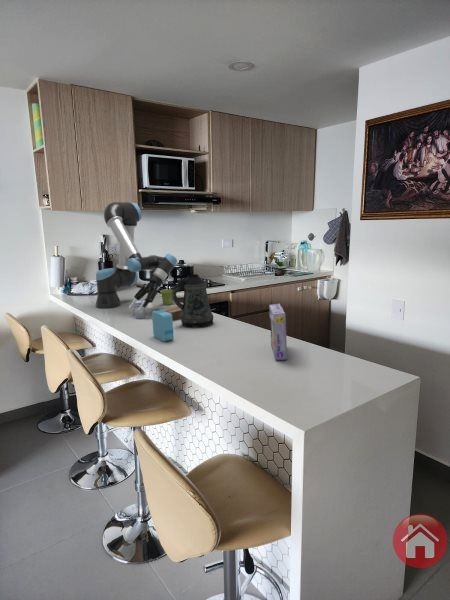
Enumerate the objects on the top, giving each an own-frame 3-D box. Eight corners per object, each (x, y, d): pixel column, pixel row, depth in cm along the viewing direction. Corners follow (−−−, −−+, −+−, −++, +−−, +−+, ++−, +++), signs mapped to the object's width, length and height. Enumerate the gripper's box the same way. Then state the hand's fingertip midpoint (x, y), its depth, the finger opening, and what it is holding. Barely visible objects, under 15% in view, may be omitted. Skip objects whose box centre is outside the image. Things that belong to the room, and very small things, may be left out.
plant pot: (177, 302, 253) (176, 289, 251) (173, 305, 243) (173, 292, 242) (163, 302, 253) (162, 289, 252) (159, 305, 244) (158, 292, 243)
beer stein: (220, 323, 198) (218, 274, 193) (192, 331, 184) (189, 278, 179) (198, 318, 209) (195, 271, 204) (169, 326, 195) (166, 276, 190)
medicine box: (137, 315, 220) (136, 300, 218) (145, 315, 220) (144, 300, 219) (135, 318, 212) (134, 303, 211) (143, 318, 213) (142, 302, 211)
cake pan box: (269, 344, 161) (269, 302, 157) (281, 344, 161) (281, 302, 157) (273, 361, 142) (273, 313, 138) (287, 361, 142) (287, 313, 138)
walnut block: (158, 318, 213) (158, 309, 212) (175, 314, 222) (175, 305, 221) (172, 321, 205) (172, 312, 204) (189, 317, 213) (189, 308, 213)
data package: (174, 340, 171) (172, 313, 169) (164, 342, 168) (162, 315, 166) (162, 334, 181) (160, 309, 178) (153, 336, 178) (151, 310, 176)
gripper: (173, 283, 215) (149, 317, 208) (152, 280, 231) (129, 311, 223) (164, 275, 211) (140, 309, 203) (143, 272, 226) (120, 303, 219)
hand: (134, 310), depth 213 cm, fingers closed on medicine box, 9 cm apart
